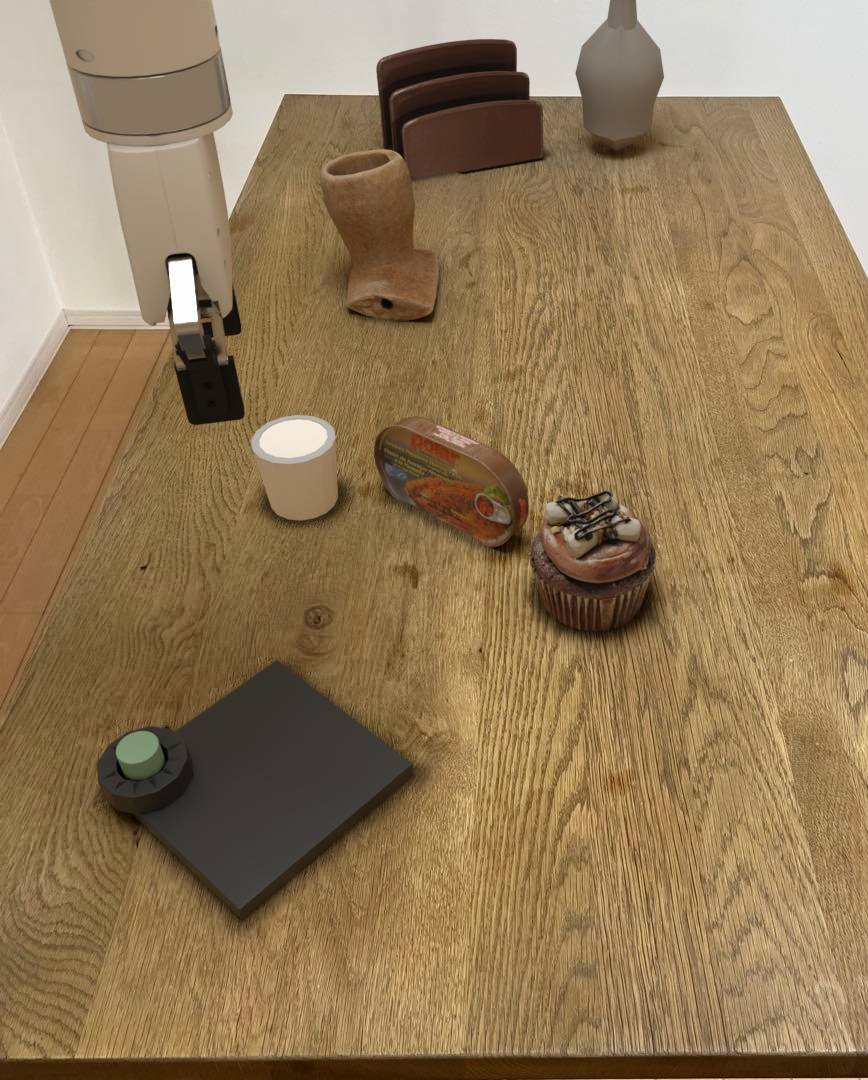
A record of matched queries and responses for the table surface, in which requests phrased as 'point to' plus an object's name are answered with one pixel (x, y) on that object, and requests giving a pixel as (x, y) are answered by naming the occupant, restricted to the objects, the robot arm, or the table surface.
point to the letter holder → (458, 107)
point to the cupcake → (592, 562)
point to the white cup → (298, 465)
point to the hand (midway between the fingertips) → (217, 375)
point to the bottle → (619, 78)
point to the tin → (452, 479)
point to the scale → (257, 785)
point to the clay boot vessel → (380, 235)
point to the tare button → (140, 755)
